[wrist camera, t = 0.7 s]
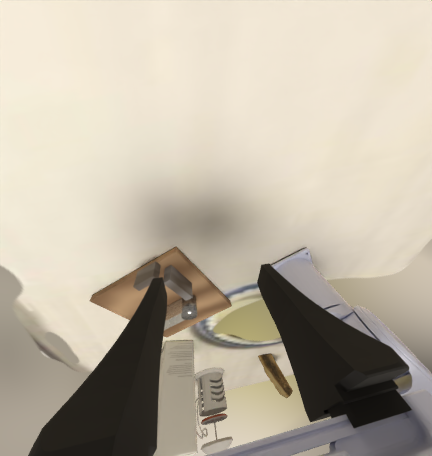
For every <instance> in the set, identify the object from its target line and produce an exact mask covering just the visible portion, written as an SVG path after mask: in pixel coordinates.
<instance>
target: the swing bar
mask: <svg viewBox="0 0 432 456" xmlns="http://www.w3.org/2000/svg"><path fill="white" fill-rule="evenodd" d="M196 317H197V302H196V296H194V295H193V298H191V299H189V300H187V301H186V300H184V299H183V298H182V299H180V300H178V301H176V302H174V303H172V304H170V305H168V306H167V313H166V320H165V327H164V330H166V329H168V328H170V327H172V326H174V325H176V324H178V323H180V322H182V321H184V320H192V319H194V318H196Z"/></svg>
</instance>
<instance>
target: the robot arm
mask: <svg viewBox="0 0 432 456" xmlns="http://www.w3.org/2000/svg"><path fill="white" fill-rule="evenodd" d="M257 283H258V286H259V289H260V292H261V295H262V297H263V299H264V301H265V303H266V305H267V307H268V309H269V311H270V314H271V316H272V318H273V320H274V322H275V324H276V326H277V329H278V331H279V333H280V336H281V338H282V341H283V344H284V346H285V349H286V352H287V355H288V358H289V360H290V363H291V366H292V369H293V372H294V375H295V378H296V381H297V384H298V388H299V391H300V394H301V398H302V401H303V404H304V408H305V411H306V413H307V416H308V418H309V420H310V422H313V421H317V420H320V419H323V418H327V417H330V416H331V419H328V420H324V421H322V422H318V423H314V424H311V425H308V426H304V427H301V428H298V429H294V430H291V431H287V432H284V433H281V434H277V435H274V436H270V437H267V438H264V439H260V440H257V441H253V442H250V443H247V444H243V445H240V446H236V447H233V448H230V449H226V450H223V451H219V452H216V453H213V454H209V455H206V456H291V455H294V454H297V453H299V452H303V451H306V450H309V449H312V448H315V447H319V446H322V445H325V444H328V443H330V452H329V453H327V454H323V455H319V456H432V373H431V372H430V371H429V370H428V369H427V368H426V367H425V366H424V365H423V364H422V363H421V362H420V361H419V360H418V359H417V357H416V356H415V355H414V354H413V353H412V352H411V351H410V350H409V349H408V347H407V346H406V345H405V344H404V343H403V342H402V341H401V340H400V339H399V338H398V337H397V336H396V335H395V334H394V333H393V332H392V331H391V330H390V329H389V328H388V327H387V326H386V325H385V324H384V323H383V322H382V321H380V320H379V319H378V318H377V317H376V316H375V315H374V314H373V313H372V312H371V311H369V310H368V309H367V308H364V307H360V306H355V307H354V308H353V307H351V306H350V305H349V304H348V303H347V302H346V301H345V300H344V299H343V298H342V297H341V296H340V294H339V293H338V292H337V291H336V290H335V289H334V288H333V287H332V286H331V285H330V283H329V282H328V281H327V280H326V279H325V278H324V277H323V276H322V275H321V274H320V273H319V271H318V270H317V269H316V268H315V267H314V266H313V263H312V259H311V255H310V251H309V249H308V248H305V249H303V250H301V251H299V252H297V253H295V254H293V255H291V256H289V257H287V258H285V259H283V260H281V261H279V262H277V263H275V264H273V265H270V264H264V265H261V269H260V273H259V278H258V282H257ZM166 313H167V292H166V288H165V284H164V280H163V277H160V278H153V279H152V281H151V283H150V285H149V287H148V290H147V292H146V293H145V295H144V297H143V299H142V301H141V303H140V305H139V306H138V308H137V310H136V312H135V313H134V315H133V316H132V318H131V320H130V321H129V323H128V324H127V326H126V328H125V329H124V331H123V332H122V333H121V335H120V336H119V338H118V339H117V341H116V342H115V343H114V345H113V346H112V347H111V349H110V350H109V351H108V353H107V354H106V355H105V357H104V358H103V359H102V361H101V362H100V363H99V364H98V366H97V367H96V368H95V369H94V371H93V372H92V373H91V374H90V375H89V376H88V378H87V379H86V380H85V381H84V383H83V384H82V385H81V386H80V387H79V388H78V390H77V391H76V392H75V393H74V394H73V395H72V396H71V398H70V399H69V400H68V401H67V402H66V403H65V404H64V405H63V406H62V407H61V409H60V410H59V411H58V412H57V413H56V414H55V415H54V416H53V418H51V419H50V421H49V422H48V423H47V424H46V425H45V426H44V427H43V428H42V430H41V432H40V434H39V436H38V438H37V440H36V441H35V443H34V445H33V447H32V449H31V451H30V453H29V455H28V456H153V455H154V453H155V451H156V449H157V427H158V397H159V376H160V359H161V348H162V341H163V334H164V327H165V320H166Z"/></svg>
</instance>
